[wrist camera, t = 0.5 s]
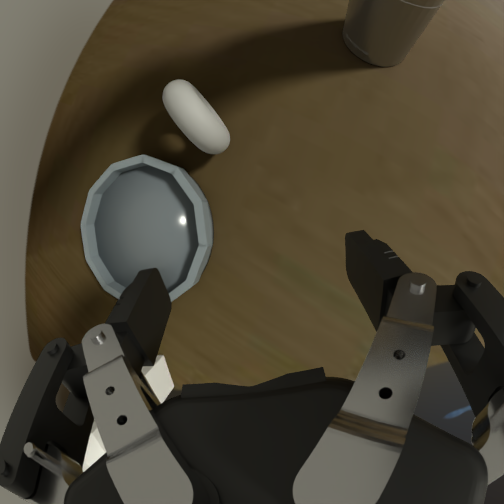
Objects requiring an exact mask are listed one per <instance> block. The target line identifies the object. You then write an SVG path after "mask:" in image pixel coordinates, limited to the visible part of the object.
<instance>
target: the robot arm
mask: <svg viewBox="0 0 504 504" xmlns="http://www.w3.org/2000/svg"><path fill="white" fill-rule="evenodd" d="M443 1H444V0H349V4H348V9H347V14H346V18H345V23H344V27H343V39H344V42H345V44H346V45H347V47H348V48H349V49H350V50H351V51H352V52H353V53H354V54H355V55H356V56H357V57H359V58H360V59H362V60H364V61H366V62H368V63H370V64H373V65H377V66H383V67H391V66H395V65H397V64H399V63H401V62H402V61H403V59H404V58H405V57H406V55H407V54H408V52H409V51H410V49H411V48H412V47H413V45H414V44H415V42H416V41H417V40H418V38H419V37H420V35H421V34H422V32H423V31H424V29H425V28H426V27H427V25H428V24H429V22H430V21H431V19H432V18H433V16H434V15H435V13H436V12H437V10H438V9H439V8H440V6H441V5H442V3H443ZM345 246H346V271H347V275H348V279H349V281H350V283H351V284H352V286H353V288H354V290H355V292H356V293H357V295H358V297H359V299H360V301H361V303H362V305H363V306H364V308H365V310H366V312H367V314H368V316H369V318H370V320H371V322H372V324H373V326H374V328H375V330H376V332H377V333H376V336H375V338H374V341H373V343H372V345H371V348H370V350H369V352H368V355H367V357H366V359H365V361H364V364H363V366H362V368H361V370H360V372H359V375H358V377H357V379H356V381H352V380H348V379H344V378H338V377H325V373H324V369H323V367H320V368H316V369H311V370H306V371H300V372H295V373H289V374H286V375H283V376H280V377H278V378H275V379H272V380H269V381H267V382H264V383H261V384H258V385H255V386H250V387H247V386H237V385H228V384H221V383H205V384H187V385H183V387H182V393H181V395H179V396H176V397H173V398H171V399H169V400H167V401H164V402H163V403H160V401H159V400H158V398H157V396H156V395H155V393H154V391H153V390H152V388H151V386H150V384H149V383H148V381H147V379H146V377H145V376H144V374H143V373H142V371H141V370H142V367H143V366H154V364H155V361H156V357H157V354H158V350H159V347H160V344H161V340H162V337H163V334H164V331H165V327H166V324H167V321H168V318H169V315H170V312H171V299H170V296H169V294H168V291H167V289H166V287H165V284H164V282H163V279H162V277H161V274H160V272H159V270H158V269H157V268H150V269H144V270H140V271H139V272H138V274H137V275H136V277H135V279H134V281H133V282H132V283H131V284H130V285H129V286H128V287H127V288H125V289H124V291H123V292H122V294H121V296H120V297H119V298H120V299H118V301H117V303H116V305H115V306H114V308H113V310H112V312H111V313H110V315H109V317H108V319H107V321H106V323H105V324H100V325H97V326H95V327H93V328H92V329H90V330H89V331H88V332H87V333H86V334H85V336H84V337H83V340H82V343H81V344H78V345H75V346H72V347H70V346H69V344H68V343H67V341H66V340H65V339H64V338H56V339H54V340H52V341H51V342H49V343H48V344H47V345H46V346H45V347H44V349H43V350H42V352H41V354H40V356H39V358H38V360H37V361H36V363H35V365H34V367H33V369H32V371H31V373H30V375H29V377H28V379H27V381H26V383H25V385H24V387H23V389H22V391H21V394H20V396H19V398H18V400H17V403H16V405H15V407H14V410H13V412H12V414H11V417H10V419H9V422H8V424H7V427H6V430H5V432H4V435H3V438H2V441H1V444H0V485H1V486H2V487H4V488H5V489H7V490H9V491H10V492H12V493H14V494H16V495H18V496H19V497H20V498H22V499H23V500H25V501H27V502H29V503H31V504H484V499H485V495H486V489H487V485H488V484H490V483H491V482H493V481H494V480H496V479H497V478H499V477H500V476H502V475H503V474H504V298H503V296H502V295H501V294H500V293H499V292H498V291H497V290H496V288H495V287H494V286H493V285H492V284H491V283H490V282H489V281H488V280H487V279H486V278H485V277H484V276H482V275H481V274H479V273H476V272H472V271H465V272H462V273H460V274H459V275H458V276H457V278H456V282H455V285H441V286H438V285H436V283H435V281H434V280H433V279H432V278H431V277H429V276H428V275H425V274H422V273H413V272H412V271H411V270H410V269H409V268H408V267H407V266H406V264H405V263H404V262H403V261H402V260H401V259H400V258H399V257H398V256H397V255H396V253H395V252H393V250H392V249H391V248H390V247H389V246H388V245H387V244H386V243H384V242H382V241H380V240H377V239H376V240H373V239H372V238H371V237H370V236H369V235H368V234H367V233H366V232H365V231H364V230H360V231H355V232H349V233H346V236H345ZM475 328H477V329H478V331H479V332H480V334H481V335H482V337H483V339H484V342H485V348H484V347H483V345H482V344H481V342H480V341H479V339H478V337H477V336H476V334H475V333H474V331H475ZM434 345H441V347H442V349H443V351H444V353H445V354H446V356H447V358H448V360H449V362H450V364H451V366H452V368H453V370H454V372H455V374H456V376H457V378H458V380H459V382H460V384H461V386H462V388H463V390H464V392H465V394H466V397H467V399H468V401H469V403H470V406H471V408H472V410H473V413H474V415H475V419H474V422H473V425H472V438H471V442H472V444H473V446H472V445H471V444H469V443H467V442H465V441H463V440H461V439H459V438H457V437H455V436H453V435H451V434H449V433H448V432H446V431H444V430H442V429H440V428H438V427H436V426H434V425H432V424H430V423H428V422H427V421H425V420H423V419H421V418H419V417H417V416H415V415H414V414H413V413H414V410H415V407H416V404H417V400H418V397H419V393H420V390H421V386H422V383H423V379H424V375H425V371H426V366H427V362H428V357H429V353H430V347H431V346H434ZM61 383H63V385H64V386H65V387H66V388H67V389H68V390H69V391H70V394H69V396H68V399H67V402H66V405H65V407H64V410H63V413H62V412H61V411H60V410H59V409H58V408H57V405H56V402H55V398H56V394H57V392H58V390H59V387H60V385H61ZM94 419H95V422H96V425H97V428H98V431H99V434H100V437H101V439H102V442H103V445H104V447H105V450H106V453H105V454H104V455H103V456H101V457H100V458H99V459H98V460H97V461H96V462H95V463H93V464H92V465H91V466H90V467H89V468H88V469H87V470H85V471H84V472H83V470H82V468H83V463H84V459H85V454H86V450H87V446H88V441H89V437H90V433H91V430H92V426H93V422H94Z"/></svg>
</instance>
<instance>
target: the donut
mask: <svg viewBox="0 0 504 504" xmlns="http://www.w3.org/2000/svg"><path fill="white" fill-rule="evenodd" d="M162 99H163V103H164V106H165V108H166V110H167V111H168V113H169V115H170V116H171V118H172V119H173V120H174V122H175V123H176V125H177V126H178V127H179V128H180V129H181V131H182V132H183V133H184V134H185V135H186V136H187V137H188V139H189V140H190V141H191V142H192V143H193V144H194V145H196V146H197V147H198V148H199V149H201V150H202V151H204V152H206V153H209V154H219V153H221V152H223V151H224V150H226V149H227V147H228V145H229V143H230V135H229V132H228V130H227V128H226V126H225V125H224V123H223V122H222V120H221V119H220V117H219V116H218V115H217V113H216V112H215V111H214V109H213V108H212V107H211V106H210V104H209V103H208V102H207V101H206V99H205V98H204V97H203V96H202V95H201V94H200V92H199V91H198V90H197V89H196V88H195V87H194V86H193V85H192V84H191V83H189V82H188V81H185V80H180V79H178V80H173V81H172V82H170V83H168V84H167V85H166V87H165V88H164V91H163V97H162Z"/></svg>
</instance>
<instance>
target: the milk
mask: <svg viewBox="0 0 504 504" xmlns="http://www.w3.org/2000/svg"><path fill="white" fill-rule="evenodd" d="M141 371H142V373H143V374H144V376H145V377H146V379H147V381H148V383H149V384H150V386H151V388H152V390H153V391H154V393H155V395H156V396H157V398H158V400H159V401H160V403H163V402H164V400H165V399H166V397H167V396H168V394H169V393H170V392H171V390H172V389H173V387H174V384H173V382H172V379H171V376H170V373H169V370H168V367H167V364H166V361H165V358H164V355H157V357H156V361H155V364H154V366H143V367H142V370H141ZM105 453H106V450H105V447H104V445H103V442H102V439H101V437H100V434H99V431H98V428H97V425H96V422H95V419H94V422H93V426H92V430H91V433H90V437H89V441H88V446H87V450H86V454H85V459H84V463H83V468H82V470H83V472H84V471H85V470H87V469H88V468H89V467H90V466H91V465H92V464H93V463H95V462H96V461H97V460H98V459H99V458H100V457H101V456H103V455H104V454H105Z"/></svg>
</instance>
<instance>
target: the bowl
mask: <svg viewBox="0 0 504 504" xmlns="http://www.w3.org/2000/svg"><path fill="white" fill-rule="evenodd" d="M81 232H82V239H83V246H84V252H85V258H86V261H87V263H88V265H89V266H90V268H91V270H92V271H93V273H94V275H95V276H96V278H97V280H98V281H99V283H100V284H101V286H102V287H103V289H104V290H105V291H107V292H108V293H110V294H111V295H113V296H114V297H116V298H118V299H120V298H119V297H120V296H121V294H122V292H123V291H124V289H125V288H127V287H128V286H129V285H130V284H131V283H132V282H133V281H134V279H135V277H136V275H137V274H138V272H139V271H140V270H144V269H150V268H157V269H158V270H159V272H160V274H161V277H162V279H163V282H164V284H165V287H166V289H167V291H168V294H169V296H170V299H171V302H172V301H173V300H175V299H176V298H177V297H179V296H180V295H181V294H183V293H184V292H185V291H187V290H188V289H189V288H191V287H192V286H193V285H195V284H196V283H197V282H198V281H199V279H200V276H201V275H202V273H203V272H204V270H205V268H206V266H207V264H208V261H209V258H210V255H211V252H212V246H213V238H214V227H213V219H212V213H211V210H210V206H209V203H208V201H207V199H206V197H205V194H204V193H203V191H202V189H201V188H200V186H199V185H198V184H197V182H196V181H195V180H194V179H193V178H192V177H191V176H190V175H189V174H188V173H187V172H186V171H185V169H184V168H181V167H178V166H176V165H173V164H171V163H168V162H165V161H162V160H159V159H156V158H154V157H151V156H147V155H144V154H143V155H139V156H136V157H132V158H129V159H126V160H123V161H120V162H117V163H113V164H111V165H110V167H109V168H108V169H107V170H106V171H105V172H104V173H103V174H102V176H101V177H100V178H99V179H98V180H97V182H96V183H95V184H94V185H93V186H92V188H91V189H90V190H89V193H88V197H87V201H86V204H85V208H84V212H83V216H82V220H81Z"/></svg>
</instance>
